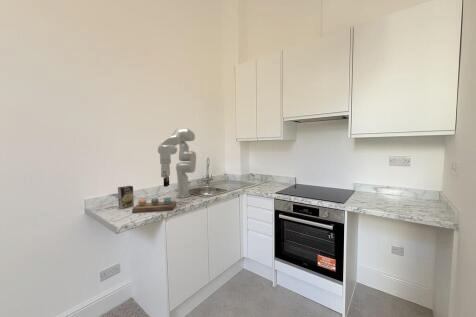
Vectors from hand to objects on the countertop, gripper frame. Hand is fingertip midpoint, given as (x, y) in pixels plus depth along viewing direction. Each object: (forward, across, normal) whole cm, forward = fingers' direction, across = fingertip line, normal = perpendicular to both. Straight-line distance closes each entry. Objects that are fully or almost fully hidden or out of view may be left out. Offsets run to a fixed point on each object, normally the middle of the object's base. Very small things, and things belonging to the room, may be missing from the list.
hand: (166, 185), depth 157 cm
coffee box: (+18, -10, -33) cm, 39 cm away
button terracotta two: (+13, 0, -18) cm, 22 cm away
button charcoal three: (+13, 0, -9) cm, 16 cm away
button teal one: (+13, 0, 0) cm, 13 cm away
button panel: (+17, 0, -9) cm, 20 cm away
